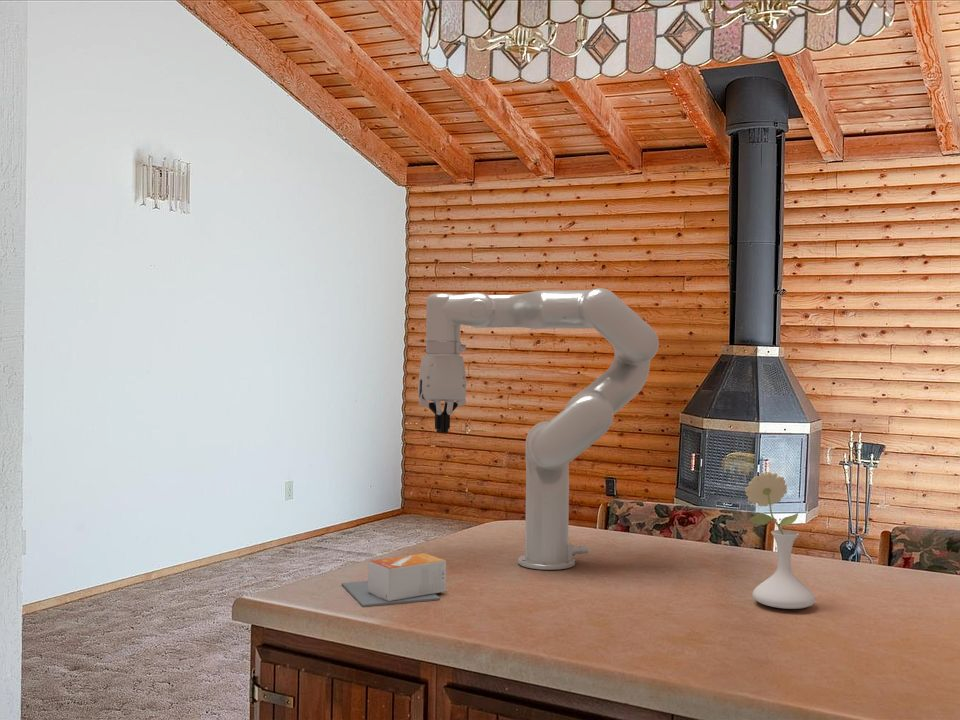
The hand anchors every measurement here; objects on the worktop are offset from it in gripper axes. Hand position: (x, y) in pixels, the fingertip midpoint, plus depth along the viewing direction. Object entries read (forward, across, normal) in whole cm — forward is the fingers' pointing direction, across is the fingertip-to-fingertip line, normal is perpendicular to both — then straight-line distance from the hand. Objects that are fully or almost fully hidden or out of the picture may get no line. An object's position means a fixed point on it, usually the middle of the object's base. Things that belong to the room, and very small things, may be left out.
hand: (442, 432), depth 209 cm
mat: (+29, +18, +20) cm, 39 cm away
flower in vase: (+29, -49, +53) cm, 78 cm away
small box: (+26, +8, +21) cm, 34 cm away
